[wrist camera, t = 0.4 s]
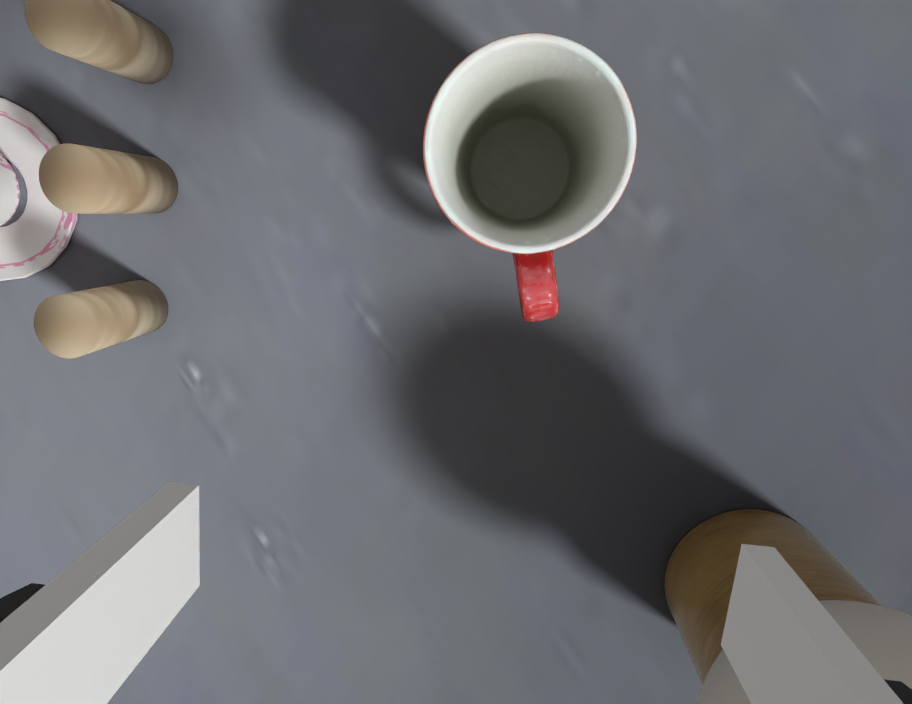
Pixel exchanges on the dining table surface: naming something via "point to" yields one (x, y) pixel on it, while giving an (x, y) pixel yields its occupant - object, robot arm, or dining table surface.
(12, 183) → the teacup
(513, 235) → the mug
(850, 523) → the dining table surface
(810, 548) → the lamp
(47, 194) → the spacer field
